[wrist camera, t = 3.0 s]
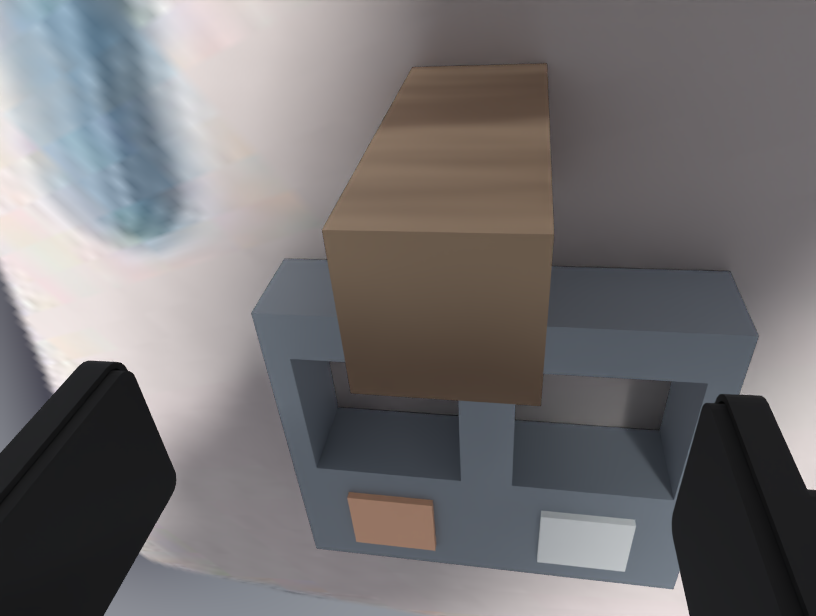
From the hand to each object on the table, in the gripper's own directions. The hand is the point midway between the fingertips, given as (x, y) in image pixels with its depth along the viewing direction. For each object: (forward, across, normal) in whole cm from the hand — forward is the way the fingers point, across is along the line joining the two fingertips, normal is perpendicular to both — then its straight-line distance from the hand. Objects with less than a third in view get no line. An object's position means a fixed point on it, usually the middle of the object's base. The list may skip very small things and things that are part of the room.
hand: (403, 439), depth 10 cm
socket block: (+13, -1, +11) cm, 17 cm away
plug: (+12, 0, -1) cm, 12 cm away
